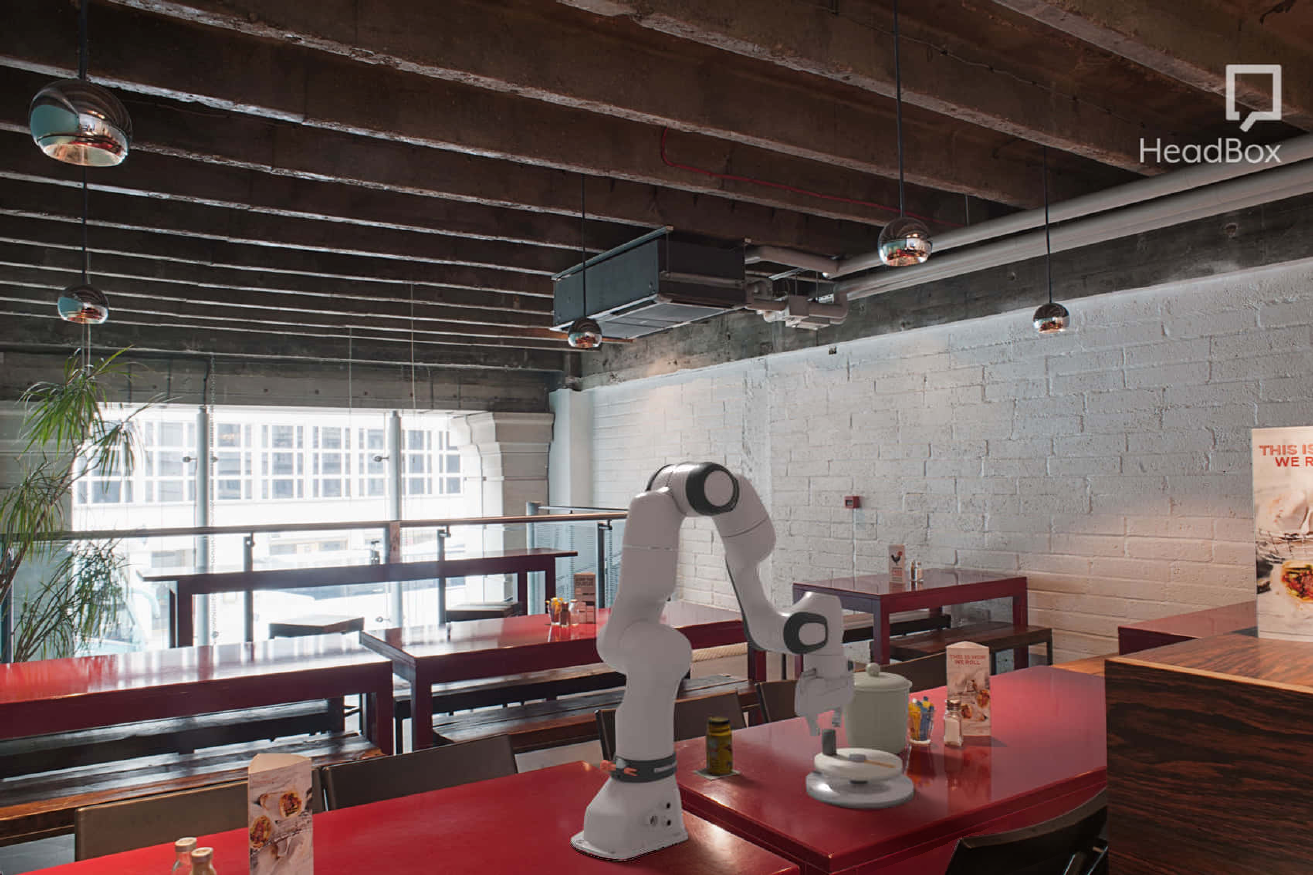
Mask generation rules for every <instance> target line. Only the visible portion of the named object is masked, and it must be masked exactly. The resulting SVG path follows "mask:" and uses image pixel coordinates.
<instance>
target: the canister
mask: <svg viewBox="0 0 1313 875" xmlns="http://www.w3.org/2000/svg"><path fill="white" fill-rule="evenodd" d="M853 673H854V685H855V688H854V698H853V701H852V702H851V703H848V704H846V705H844V712H843V716H842V718H843V722H844V723H843V724H844V728H845V734H846V738H847V739H846V740H847V743H848V745H849V748H863V749H873V750H879V751H884V752H888V753H891V754H893V755H896V756H897V755H899V754H901V752H903V751H904V749H905V747H906V742H907V735H908V724H909V723H908V722H909V707H910V704H909V703H910V688H912V687H913V682H912V681H911V680H908V679H907V678H906V677H904V676H902V675H899V674H897V673H891V672H884V671H881V666H880V665H879V663H876V662H870V663H867V664H866V666H865V671H860V672H858V671H857V672H853Z"/></svg>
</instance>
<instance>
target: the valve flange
mask: <svg viewBox="0 0 1313 875" xmlns="http://www.w3.org/2000/svg"><path fill="white" fill-rule="evenodd" d="M805 789H806V793H807V794H808V796H809V797H811V798H813V799H814V800H816V801H818V802H821V803H824V804H828V805H830V806H836V807H840V808H847V809H848V808H849V809H857V810H858V809H860V810H864V809H865V810H869V809H870V810H871V809H872V810H874V809H885V808H893V807H897V806H900V805H903V804H906V803H907V802H909V801H911V800H912V798H914V795H915V794H914V792H915V791H914V782H913V780H912V779H911V778H910V777H908V776H907V775H905V774H904V773H902V772H901V773H900V774H899V775H897V776H895V777H892V778H888V779H882V780H871V781H857V780H846V779H839V778H834V777H831V776H827V775H825V774H822V773H820V772H819V771H817V770H816V769H814V770H812V772H809V774H807V775H806V777H805Z"/></svg>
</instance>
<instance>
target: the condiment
mask: <svg viewBox="0 0 1313 875" xmlns="http://www.w3.org/2000/svg"><path fill="white" fill-rule="evenodd" d="M706 723H707V724H706V728H707V729H706V731H705V760H706V761H705V762H706V766H705V768H704V767H703V768H701V769H694V770H692V771H691V772H692V773H694V774H696V775H698V776H701V777H702V778H706V779H708V780H715V779H719V778H723V777H730V776H735V775H738V774H740V773H741V772H740V771H738V770H735V769H733V768H734V767H733V766H734V765H733V762H734V761H733V760H734V759H733V733H732V730H731V720H730V718H728V717H726V716H718V715H717V716H710V717H708V718H707V720H706Z"/></svg>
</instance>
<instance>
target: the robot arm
mask: <svg viewBox="0 0 1313 875" xmlns="http://www.w3.org/2000/svg"><path fill="white" fill-rule="evenodd" d="M646 485H647V486H646V487H645V490H644V491H642V492H640V493H638V494H636V495H635V496H634V497H632V500H631V501H630V503H629V507H628V510H627V515H626V519H625V524H624V527H623V534H622V544H621V545H622V546H621V554H620V555H621V556H620V564H619V565H620V568H619V576H618V577H619V578H618V583H617V589H616V593H615V598H614V600H613V603H612V607H611V609H610V613H609V615H608V618H607V621H606V622H605V623H604V624H603V625H602V627H601V628H600V630H599V632H598V633H597V637H596V641H595V642H596V644H595V645H596V651H597V653H598V656H599V657H600V659H601V660H602V661H603V662H604V663H605V664H606V665H607V666H608V667H609V668H611V670H613V671H614V672H617V673H620V674H622V675H623V674H624V675H625V677H626V684H625V690H624V694H623V698H622V701H621V703H620V704H619V705H618V706H617V708H616V710H615V713H614V716H615V717H614V719H615V720H614V722H615V723H614V724H615V752H614V754H613V756H612V761H608V760H606V759H603V760H602V761H600V764H599V765H600V766H599V770H600V771H601V772H605V773H609V778H608V779H607V780H606V782H605V783H604V784H603V786H602V787H601V789H600V790H599V791H598V792H597V794H596V795H595V796H594V797H593V799H592V801H591V802H590V803H589V805H587V807H586V809H585V812H584V819H583V820H584V821H583V830H582V831H580V832H578V833H577V834H574V836H572V837H571V838H570V844H571V843H572V845H573V846H574V847H576V848H577V849H579V850H583V851H585V852H587V853H592V854H594V855H598V856H601V857H607V858H613V859H627V858H630V857H635V856H637V855H639V854H643V853H647V852H650V851H653V850H656V851H658V850H661V849H663V848H662V847H664V848H667V847H670V846H672V844H673V845H676V844H679V843H681V842H684V841H686V840H689V835H688V831H687V829H686V826H685V823H684V816H683V808H682V807H683V806H682V800H681V799H682V798H681V793H680V789H679V786H678V783H677V777H676V773H677V772H678V759H677V752H676V750H675V740H674V737H675V736H674V735H675V734H674V733H675V732H674V730H675V729H674V715H675V714H674V712H675V704H676V699H677V694H678V690H679V687H680V683H681V682H682V679H683V678H684V677H685V676H686V675H687V674H688V673H689V671H690V668H691V666H692V662H693V648H692V644H691V642H690V640H689V639H688V638H687V637H686V636H685V634H683V633H682V632H680V631H679V630H678V629H676V628H674V626H671V625H668V624H667V623H661V618H662V616H663V615H662V614H663V612H664V609H665V606H666V604H667V602H668V601H669V599H670V597H672V596H673V594H674V593H675V591H676V588H677V574H678V562H679V547H680V546H679V545H680V544H679V543H680V531H681V530H680V529H681V526H682V524H683V522H684V520H685V519H686V517H687V518H700V517H710V518H711V520H712V521H713V523H714V525H715V528H716V530H717V533H718V535H719V537H720V539H721V541H722V544H723V547H724V551H725V554H724V562H725V567H726V570H727V573H728V575H729V579H730V582H731V586H732V588H733V592H734V595H735V597H736V598H735V599H736V600H737V603H738V606H739V609H740V612H741V613H740V614H741V619H742V630H743V635H744V637H745V639H746V642H747V643H748V645H749V646H751V647H752V648H753V649H754V650H757V651H761V652H773V653H774V652H775V653H780V654H785V655H786V654H787V655H792V656H802V655H803V657H802V658H803V671H802V672H801V675H800V677H799V678H798V680H797V682H796V685H795V693H794V694H795V695H794V712H795V714H796V716H797V717H802V718H805V720H806V723H807V725H808V727H809V735H810V736H811V737H817V736H819V735H821V726H819V725H818V721H817V720H818V719H819V715H821V714H824V713H827V712H829V711H832V710H833V716H832V718H830V721H831V726H832V728H837V729H838V728H840V727H841V726H842V725H843V723H842V722H843V720H842V718H843V712H844V705H846V704H848V703H851V702H852V701H853V698H854V688H855V685H854V673H855V672H853V671H855V669H856V662H855V660H854V659H851V658H848V657H846V656H845V648H844V645H843V637H844V633H845V630H844V615H843V614H844V613H843V607H842V602H841V599H840V597H839V596H838V595H837V594H835V593H833V592H828V591H819V590H807V591H804V595H803V596H802V598H801V599H800V600H798V601H797V602H796V603H795V604H792V605H790V606H789V607H781V606H777V605H774V604H773V603H771V602H770V601H769V599H767V597H766V594H765V591H764V588H763V585H762V583H761V579H760V576H759V572H758V565H759V564H761V563H762V562H764V561H765V560H766V559H767V558H768V557H769V556H770V555H771V554H772V553H773V551H774V548H775V546H776V544H777V543H776V541H777V535H776V530H775V528H774V524H773V522H772V520H771V518H770V515H769V513H768V511H767V509H766V507H765V505H764V502H763V501H762V499H761V497H760V496H759V494H758V492H757V491H756V490H755V488H754V486H753V485H752V483H751V482H750V480H749V479H748V478H747V477H746V476H744V475H743V474H741V473H735V472H734V473H733V472H731V471H730V469H729V468H727V467H725V466H724V465H722V464H720V463H717V462H713V461H703V462H699V461H698V462H697V461H696V462H694V461H684V462H678V463H672V464H671V463H669V464H667V465H663V466H661V467H660V468H658V469H656V470H655V471H654V473H652V475H651V476H650V478H649V480H648V482H647V484H646ZM675 843H676V844H675ZM572 845H571V846H572ZM573 846H572V847H573ZM574 847H573V848H574ZM660 848H661V849H660ZM577 849H576V850H577ZM579 850H578V851H579ZM653 852H654V851H653ZM650 853H651V852H650ZM647 854H648V853H647ZM635 858H636V857H635Z"/></svg>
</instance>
